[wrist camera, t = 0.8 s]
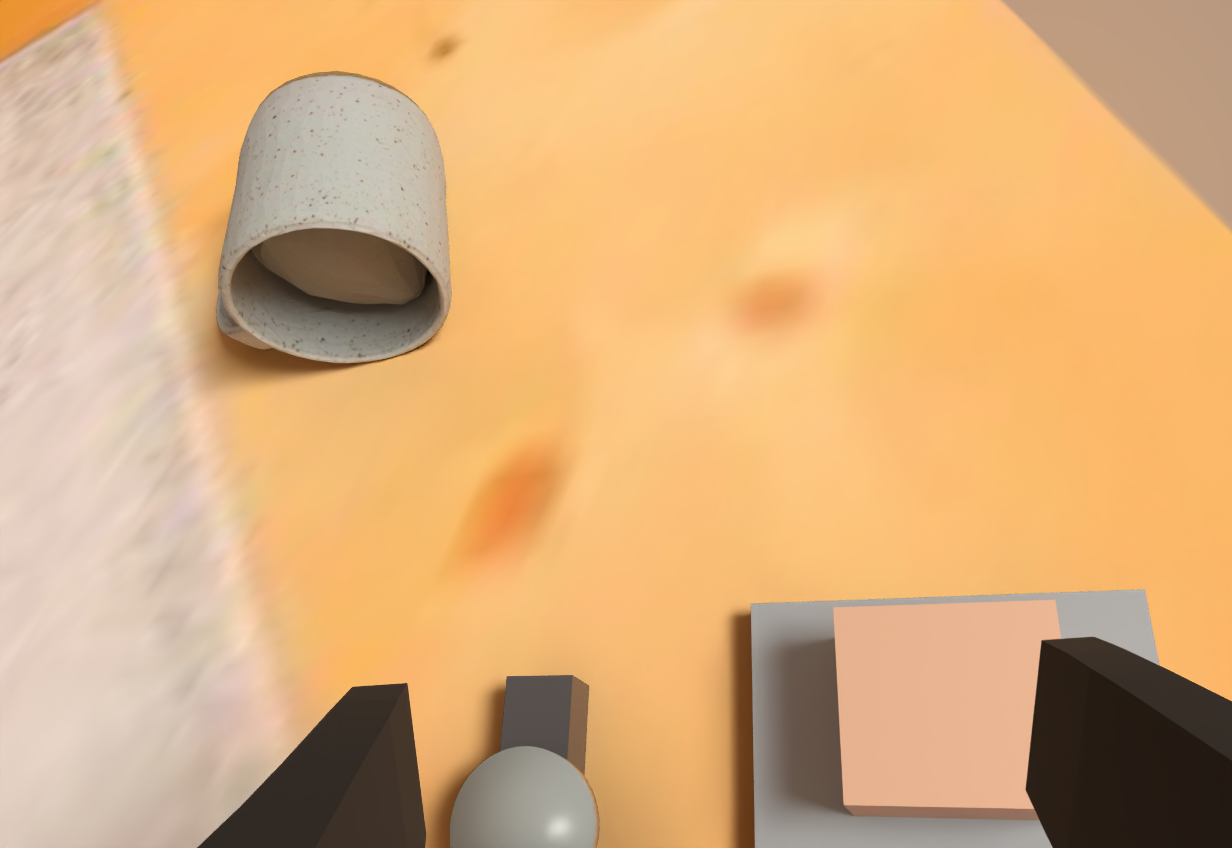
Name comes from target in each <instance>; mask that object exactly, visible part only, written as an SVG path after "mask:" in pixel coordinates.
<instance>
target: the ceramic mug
mask: <svg viewBox="0 0 1232 848" xmlns="http://www.w3.org/2000/svg"><path fill="white" fill-rule="evenodd" d="M218 289H219V294H218V300H217V308H216V312H217V323H218V327H219V328H220V330H221V331H222V332H223V333H224V334H226V335H227V336H229V337H230V338H232V339H235V340H238V341H240V342H242V343H244V344H246V345H248V346H251V347H254V348H257V349H262V350H265V349H270V348H274V349H276V350H279V351H281V352H285V353H289V354H291V355H293V356H296V357H301V358H306V359H310V360H314V361H323V362H332V363H361V362H370V361H376V360H382V359H387V358H391V357H394V356H397V355H401V354H404V353H406V352H408V351H411V350H413V349H415V348H417V347H419V346H420V345H422V344H424V343H425V342H427V341H428V340H429V339H430V338H431V337H432V336H433V335H434V334H435V333H436V332H437V331H438V330H439V329H440V328H441V327H442V325H443V323H444V322H445V320H446V318H447V315H448V312H449V308H450V304H451V297H452V291H451V279H450V261H449V238H448V224H447V210H446V180H445V169H444V160H443V156H442V152H441V148H440V145H439V141H438V138H437V135H436V133H435V130H434V128H433V127H432V125H431V123H430V121H429V119H428V118H427V116H426V114H425V113H424V112H423V111H422V110H421V109H420V108H419V107H418V105H417V104H416V103H415V102H413V101H412V100H411V99H410V98H409V97H408V96H406V95H405V94H403V93H402V92H400V91H399V90H398V89H396V88H395V87H393V86H391V85H389V84H386V83H384V82H382V81H380V80H378V79H374V78H370V77H367V76H363V75H360V74H355V73H347V72H340V71H331V72H318V73H313V74H308V75H304V76H300V77H298V78H295V79H292V80H290V81H287V82H285V83H284V84H282V85H281V86H280V87H278V88H277V89H275V90H274V91H272V92H271V93H270V94H269V95H268V96H267V97H266V98H265V100H264V101H263V102H262V103H261V104H260V106H259V107H258V109H257V111H256V113H255V114H254V116H253V118H252V120H251V123H250V125H249V127H248V130H247V133H246V136H245V139H244V142H243V145H242V148H241V152H240V157H239V163H238V171H237V179H236V187H235V192H234V196H233V201H232V206H231V211H230V216H229V221H228V226H227V231H226V236H225V241H224V246H223V250H222V255H221V261H220V267H219V282H218Z"/></svg>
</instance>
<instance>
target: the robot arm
mask: <svg viewBox="0 0 1232 848" xmlns="http://www.w3.org/2000/svg"><path fill="white" fill-rule="evenodd" d="M1025 790H1026V792H1027V794H1028V797H1029V799H1030V801H1031V803H1032V805H1033V807H1034V810H1035V812H1036V814H1037V816H1038V818H1039V820H1040V823H1041V825H1042V827H1043V829H1044V831H1045V833H1046V835H1047V837H1048V839H1049V841H1050V843H1051V845H1052V847H1053V848H1232V701H1230V700H1228V699H1226V698H1224V697H1222V696H1220V695H1218V694H1216V693H1214V692H1212V691H1210V690H1208V689H1206V688H1204V687H1202V686H1200V685H1198V684H1196V683H1194V682H1192V681H1190V680H1188V679H1186V678H1184V677H1182V676H1180V675H1178V674H1176V673H1174V672H1172V671H1169V670H1167V669H1165V668H1163V667H1161V666H1159V665H1157V664H1155V663H1153V662H1151V661H1149V660H1147V659H1145V658H1143V657H1141V656H1139V655H1136V654H1134V653H1132V652H1130V651H1128V650H1125V649H1123V648H1121V647H1119V646H1116V645H1114V644H1112V643H1109V642H1107V641H1104V640H1102V639H1099V638H1096V637H1080V638H1065V639H1050V640H1041V649H1040V658H1039V667H1038V677H1037V686H1036V695H1035V705H1034V714H1033V724H1032V733H1031V742H1030V752H1029V761H1028V770H1027V780H1026V789H1025ZM425 841H426V829H425V821H424V813H423V805H422V797H421V789H420V781H419V773H418V765H417V757H416V749H415V741H414V733H413V725H412V717H411V709H410V701H409V693H408V685H407V683H403V684H389V685H374V686H359V687H352V688H351V689H350V690H349V691H348V692H347V693H346V694H345V695H344V696H343V697H342V698H341V700H340V701H339V702H338V703H337V704H336V705H335V706H334V707H333V708H332V709H331V710H330V711H329V712H328V713H327V714H326V716H325V717H324V718H323V719H322V720H321V721H320V722H319V723H318V724H317V725H316V727H315V728H314V729H313V730H312V731H311V732H310V733H309V734H308V735H307V736H306V738H305V739H304V740H303V741H302V742H301V743H300V744H299V745H298V746H297V747H296V749H295V750H294V751H293V752H292V753H291V754H290V755H289V756H288V757H287V758H286V759H285V761H284V762H283V763H282V764H281V765H280V766H279V767H278V768H277V769H276V770H275V771H274V772H273V773H272V774H271V775H270V776H269V777H268V778H267V779H266V781H265V782H264V783H263V784H262V785H261V786H260V787H259V788H258V789H257V790H256V791H255V792H254V793H253V794H252V795H251V796H250V797H249V798H248V799H247V800H246V801H245V802H244V803H243V805H242V806H241V807H240V808H239V809H238V810H236V811H235V812H234V813H233V814H232V815H231V816H230V817H229V818H228V819H227V820H226V821H225V822H224V823H223V824H222V825H221V826H220V827H219V828H218V829H216V830H215V831H214V832H213V833H212V834H211V835H210V836H209V837H208V838H207V839H206V840H205V841H204V842H203V843H202V844H201V845H200V846H199V847H198V848H425Z"/></svg>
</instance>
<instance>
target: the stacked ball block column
mask: <svg viewBox="0 0 1232 848" xmlns="http://www.w3.org/2000/svg"><path fill="white" fill-rule="evenodd" d="M588 696H589V685H587V684H586V683H584V682H582V681H581V680H579V679H578V678H576V677H575V676H573V675H558V676H507V679H506V691H505V702H504V713H503V724H502V735H501V747H500V752H498V753H496V754H494V755H492V756H490V757H489V758H488V759H486V760H485V761H483V762H482V763H481V764H480V765H479V766H478V767H477V768H476V769H475V770H474V771H473V772H472V773H471V774H470V775H469V777H468V778H467V780H466V781H465V783H464V784H463V786H462V788H461V790H460V791H459V793H458V796H457V798H456V801H455V803H454V807H453V811H452V815H451V821H450V847H451V848H597V844H598V838H599V813H598V807H597V803H596V799H595V796H594V793H593V791H592V788H591V787H590V785H589V783H588V781H587V779H586V778H585V777H584V770H585V752H586V733H587V714H588Z"/></svg>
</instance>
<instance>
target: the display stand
mask: <svg viewBox="0 0 1232 848" xmlns="http://www.w3.org/2000/svg"><path fill="white" fill-rule="evenodd" d="M1080 637H1096V638H1099V639H1102V640H1104V641H1107V642H1109V643H1112V644H1114V645H1116V646H1119V647H1121V648H1123V649H1125V650H1128V651H1130V652H1132V653H1134V654H1136V655H1139V656H1141V657H1143V658H1145V659H1147V660H1149V661H1151V662H1153V663H1155V664H1157V665H1159V660H1158V655H1157V650H1156V644H1155V639H1154V634H1153V629H1152V624H1151V619H1150V613H1149V608H1148V603H1147V598H1146V593H1145V589H1143V590H1115V591H1088V592H1060V593H1033V594H1005V595H978V596H950V597H923V598H895V599H868V600H840V601H813V602H785V603H758V604H751V639H752V699H753V758H754V818H755V848H1053V847H1052V845H1051V843H1050V841H1049V839H1048V837H1047V835H1046V833H1045V831H1044V829H1043V827H1042V825H1041V823H1040V820H1039V818H1038V816H1037V814H1036V812H1035V810H1034V807H1033V805H1032V803H1031V801H1030V799H1029V797H1028V794H1027V792H1026V790H1025V789H1026V780H1027V770H1028V761H1029V752H1030V742H1031V733H1032V724H1033V714H1034V705H1035V695H1036V686H1037V677H1038V667H1039V658H1040V649H1041V640H1050V639H1065V638H1080ZM1159 666H1160V665H1159Z"/></svg>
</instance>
